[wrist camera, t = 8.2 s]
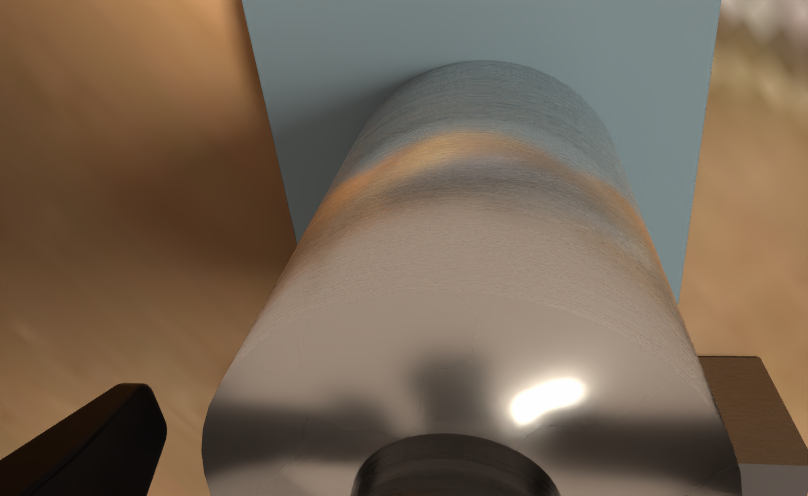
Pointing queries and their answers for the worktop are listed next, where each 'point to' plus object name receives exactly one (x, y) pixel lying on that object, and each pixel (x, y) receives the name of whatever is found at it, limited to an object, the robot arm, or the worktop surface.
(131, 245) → the worktop surface
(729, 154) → the worktop surface
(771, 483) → the frame
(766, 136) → the worktop surface
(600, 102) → the mat
